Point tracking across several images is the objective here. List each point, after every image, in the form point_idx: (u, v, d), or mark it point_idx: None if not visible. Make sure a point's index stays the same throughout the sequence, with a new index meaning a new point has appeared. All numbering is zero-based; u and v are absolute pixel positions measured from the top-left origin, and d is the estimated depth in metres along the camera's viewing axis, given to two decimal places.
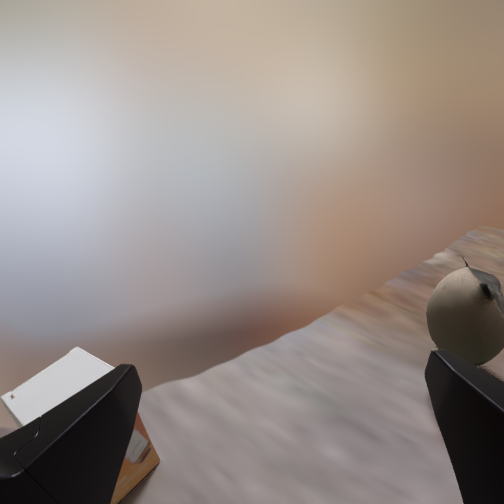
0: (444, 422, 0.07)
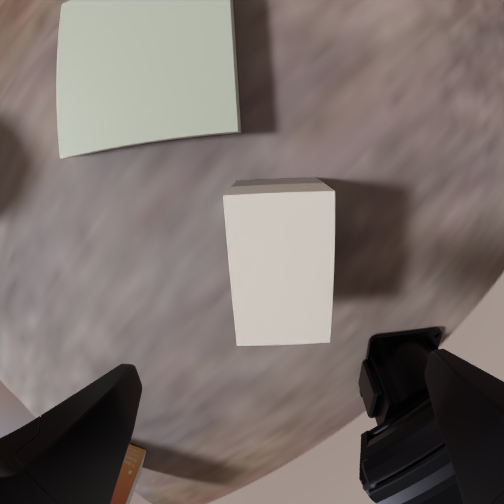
0: (444, 422, 0.07)
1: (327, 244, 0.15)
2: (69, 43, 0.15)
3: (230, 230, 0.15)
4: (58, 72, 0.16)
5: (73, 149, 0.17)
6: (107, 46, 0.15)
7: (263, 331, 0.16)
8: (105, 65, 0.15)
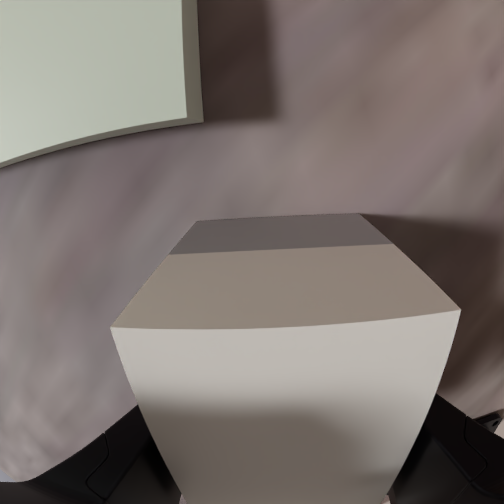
0: None
1: (406, 427, 0.05)
2: None
3: (150, 408, 0.05)
4: None
5: None
6: None
7: None
8: None
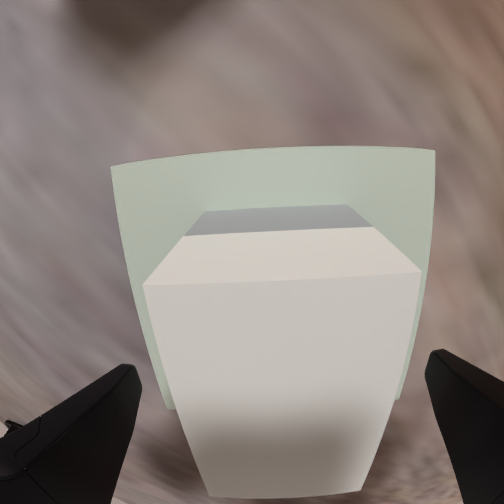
0: (444, 422, 0.07)
1: (386, 379, 0.06)
2: (336, 178, 0.10)
3: (170, 358, 0.06)
4: (279, 152, 0.10)
5: (124, 198, 0.11)
6: None
7: (251, 487, 0.08)
8: None
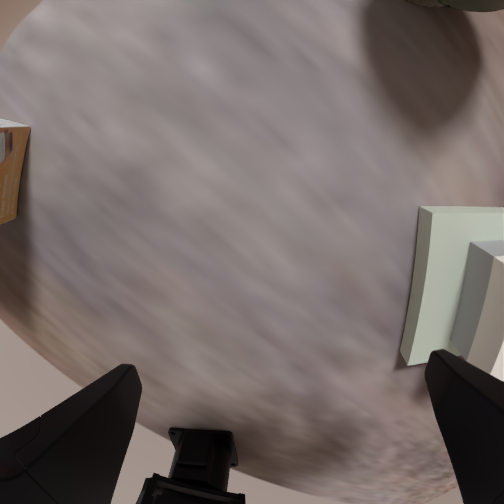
0: (444, 422, 0.07)
1: None
2: None
3: None
4: (499, 215, 0.17)
5: (436, 231, 0.18)
6: None
7: (503, 372, 0.15)
8: None
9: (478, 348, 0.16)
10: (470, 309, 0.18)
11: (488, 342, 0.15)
